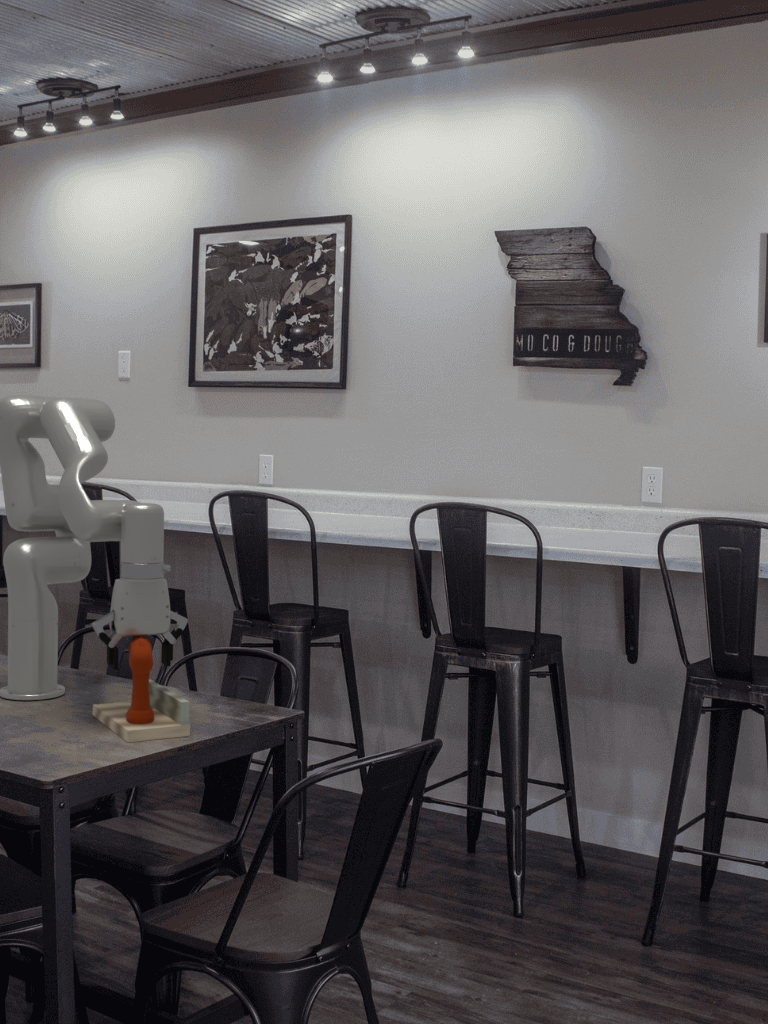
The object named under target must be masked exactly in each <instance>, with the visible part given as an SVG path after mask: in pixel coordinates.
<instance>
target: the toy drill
mask: <svg viewBox="0 0 768 1024" xmlns="http://www.w3.org/2000/svg"><path fill="white" fill-rule="evenodd" d="M127 648H128V664H129V668H130V670H131V676H132V679H131V680H132V681H131V682H132V689H131V690H132V691H131V700H130V701H131V707H130V708H129V709H128V711H127V713H126V720H127V722H129V723H132V724H147V723H151V722H153V720H154V713H153V710H152V708H151V707H150V698H149V679H150V676H151V675H150V673H151V671H152V669H153V666H154V660H153V647H152V643H151V641H150V640H149V638H147V637H146V636H132V639H131V640H130V641H129V643H128V647H127Z"/></svg>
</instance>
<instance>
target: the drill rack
mask: <svg viewBox="0 0 768 1024" xmlns="http://www.w3.org/2000/svg"><path fill="white" fill-rule="evenodd" d="M149 698H150V707H151V708H152V710H153V713H154V720H153V722H151V723H147V724H132V723H129V722H127V720H126V713H127V711H128V709H129V708H130V707H131V700H130V701H119V702H107V703H98V704H97V703H96V704H95V703H94V704H92V716H93V717H94V718H95V719H96V720H98V721H99V722H101V723H102V724H103V725H104V726H106V728H107V727H108V728H109V729H110V730H111V731H112V732H114V733H115V734H117V736H118V737H120V738H121V739H123V740H124V741H125V742H126V743H136V742H146V741H154V740H165V739H174V738H184V737H190V736H191V724H190V701H189V700H188V699H185V698H183V697H182V696H180V695H179V694H177V693H175V692H173V691H172V690H170V689H168V688H166V687H165V686H163V685H162V684H159V683H157V682H155V681H154V680H152V679H150V678H149Z"/></svg>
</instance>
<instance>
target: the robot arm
mask: <svg viewBox="0 0 768 1024" xmlns="http://www.w3.org/2000/svg"><path fill="white" fill-rule="evenodd" d="M115 427H116V419H115V415H114V412H113V411H112V409H111V408H110V406H109V405H108V404H107V403H105V402H104V401H102V400H99V399H91V398H79V397H57V396H56V397H55V396H53V397H52V396H41V395H31V394H16V395H9V396H5V397H3V398H0V474H1V483H2V484H1V485H2V492H3V500H4V509H5V515H6V518H7V519H6V520H7V521H8V523H7V524H9V526H10V528H12V529H14V530H15V531H18V532H55V536H40V537H38V536H37V537H24V538H19V539H16V540H14V541H13V542H12V543H10V544H8V546H7V547H6V548H5V551H4V553H3V557H2V559H3V560H2V561H3V564H2V565H3V570H4V574H5V575H4V576H5V580H6V587H7V604H8V607H7V611H8V614H7V619H8V620H7V621H8V622H7V623H8V624H7V625H8V628H7V630H8V632H7V685H6V686H3V687H1V688H0V697H1V698H2V699H6V700H13V701H39V700H41V701H42V700H48V699H55V698H58V697H61V696H63V695H64V694H66V687H65V686H64V685H62V684H59V683H58V661H59V660H58V659H59V658H58V647H59V643H58V642H59V608H58V603H57V601H56V598H55V596H54V594H53V593H52V592H51V590H50V589H49V587H48V585H54V584H66V583H67V584H70V583H77V582H80V581H83V580H84V579H86V578H87V576H88V575H89V573H90V571H91V567H92V550H91V543H96V542H97V543H99V542H120V560H119V561H120V562H119V563H120V567H119V568H120V570H119V578H116V579H114V584H113V588H112V594H111V595H112V596H111V601H110V602H111V603H110V612H108V613H107V614H105V615H103V616H101V617H100V618H98V619H96V620H95V621H92V623H91V626H92V629H93V630H94V632H95V634H96V636H97V638H98V639H99V640H100V641H101V642H103V644H104V645H106V664H107V665H108V667H109V668H110V669H111V670H113V671H117V670H118V669H119V648H118V647H117V645H118V643H119V642H120V640H121V639H122V638H123V637H133V636H144V637H146V636H156V635H157V636H161V638H162V639H163V642H162V643H161V655H160V656H161V658H160V659H161V660H160V661H161V663H160V664H162V665H164V666H166V667H171V665H172V664H171V662H172V661H173V659H174V644H176V642H177V640H178V639H179V638H180V637H181V635H183V633H184V629H185V628H186V627H187V624H188V622H189V619H188V618H186V617H185V616H182V615H181V614H178V613H177V612H174V611H173V610H171V603H170V595H169V587H168V581H167V579H166V578H164V577H165V574H167V573H171V570H172V569H171V568H172V566H171V565H170V564H165V562H164V548H165V547H164V546H165V544H164V542H165V537H164V536H165V511H164V508H163V506H161V504H156V503H150V502H140V501H138V500H133V499H132V500H131V499H130V500H129V499H117V500H116V499H93V500H91V498H90V497H89V496H88V494H87V493H86V491H85V489H84V487H83V485H82V483H85V482H87V481H89V480H91V479H92V478H94V477H96V476H98V475H99V474H100V473H101V472H102V471H103V470H104V469H105V467H106V466H107V465H108V460H109V455H108V452H107V450H106V448H105V446H104V444H103V443H105V442H106V441H108V440H109V439H110V438H111V437H112V436H113V434H114V432H115V430H116V429H115ZM29 439H48V441H49V444H50V445H51V447H52V449H53V451H54V452H55V454H56V456H57V459H58V460H59V462H60V464H61V466H62V468H63V469H64V471H63V473H62V475H61V478H60V481H59V484H50V483H49V482H48V479H47V476H46V465H45V461H44V459H43V458H42V456H41V454H40V453H39V451H38V449H37V448H36V447H35V446H34V445H33V444H32V443H31V442H30V440H29ZM172 620H174V621H176V626H175V627H174V629H173V630H171V621H172ZM107 624H109V629H110V631H111V632H110V634H109V635H107V634H106V632H105V630H104V627H105V626H106V625H107ZM170 630H171V632H170Z"/></svg>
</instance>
